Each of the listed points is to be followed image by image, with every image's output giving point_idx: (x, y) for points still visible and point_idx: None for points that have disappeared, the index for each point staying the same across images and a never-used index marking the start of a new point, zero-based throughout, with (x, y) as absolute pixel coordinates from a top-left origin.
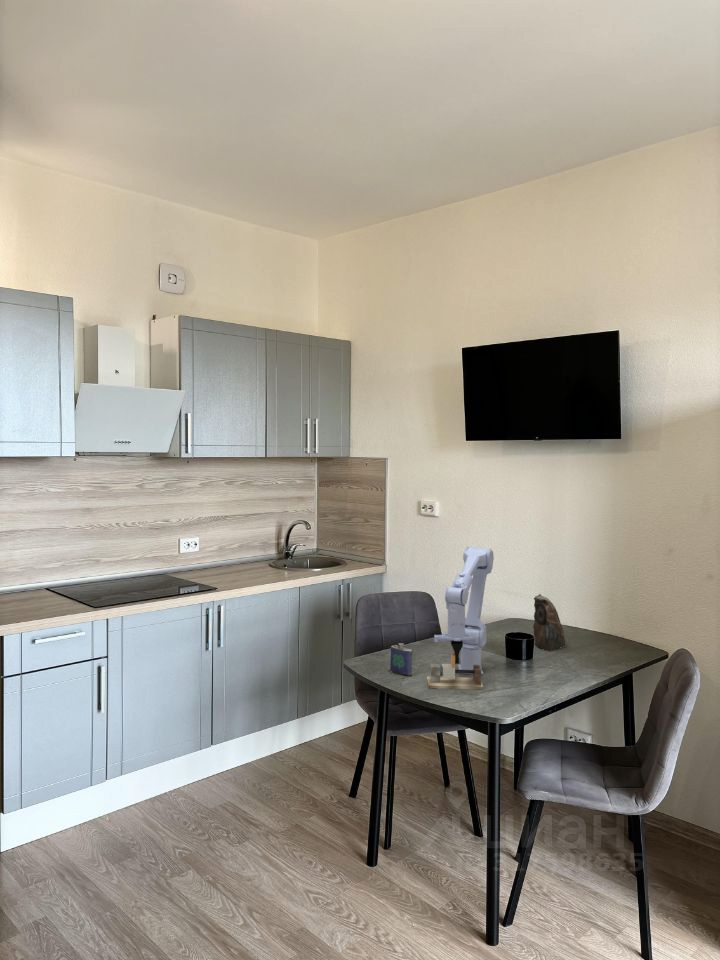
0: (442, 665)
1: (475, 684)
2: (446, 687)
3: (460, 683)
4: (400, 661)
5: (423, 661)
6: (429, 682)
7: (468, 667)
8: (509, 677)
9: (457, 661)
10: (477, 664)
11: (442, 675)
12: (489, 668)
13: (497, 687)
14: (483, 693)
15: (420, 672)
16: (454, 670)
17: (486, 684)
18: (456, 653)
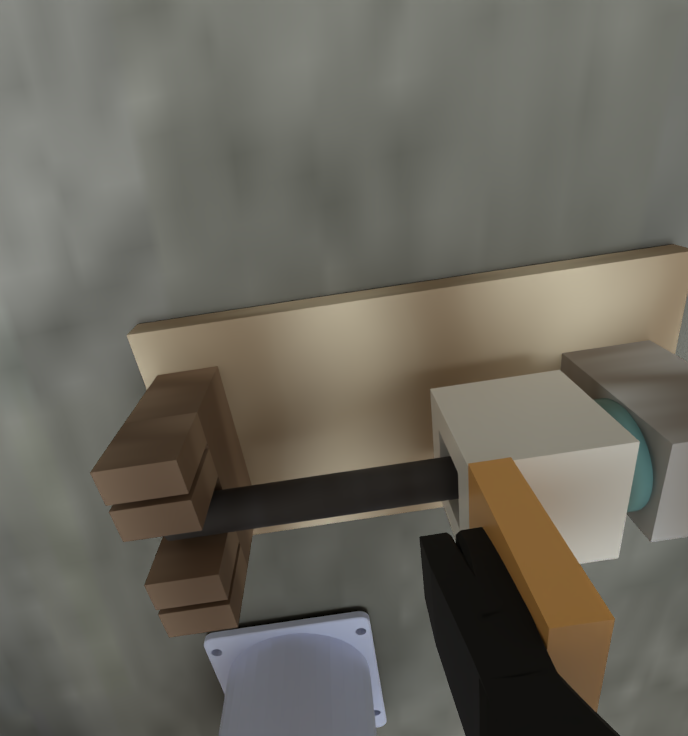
0: (623, 513)
1: (212, 369)
2: (500, 272)
3: (363, 377)
4: None
5: None
6: (664, 339)
7: (311, 670)
8: (6, 627)
9: (455, 556)
10: (239, 711)
11: None
12: (185, 723)
13: (24, 413)
14: (109, 213)
15: (650, 579)
16: (461, 441)
17: None
18: (540, 692)
